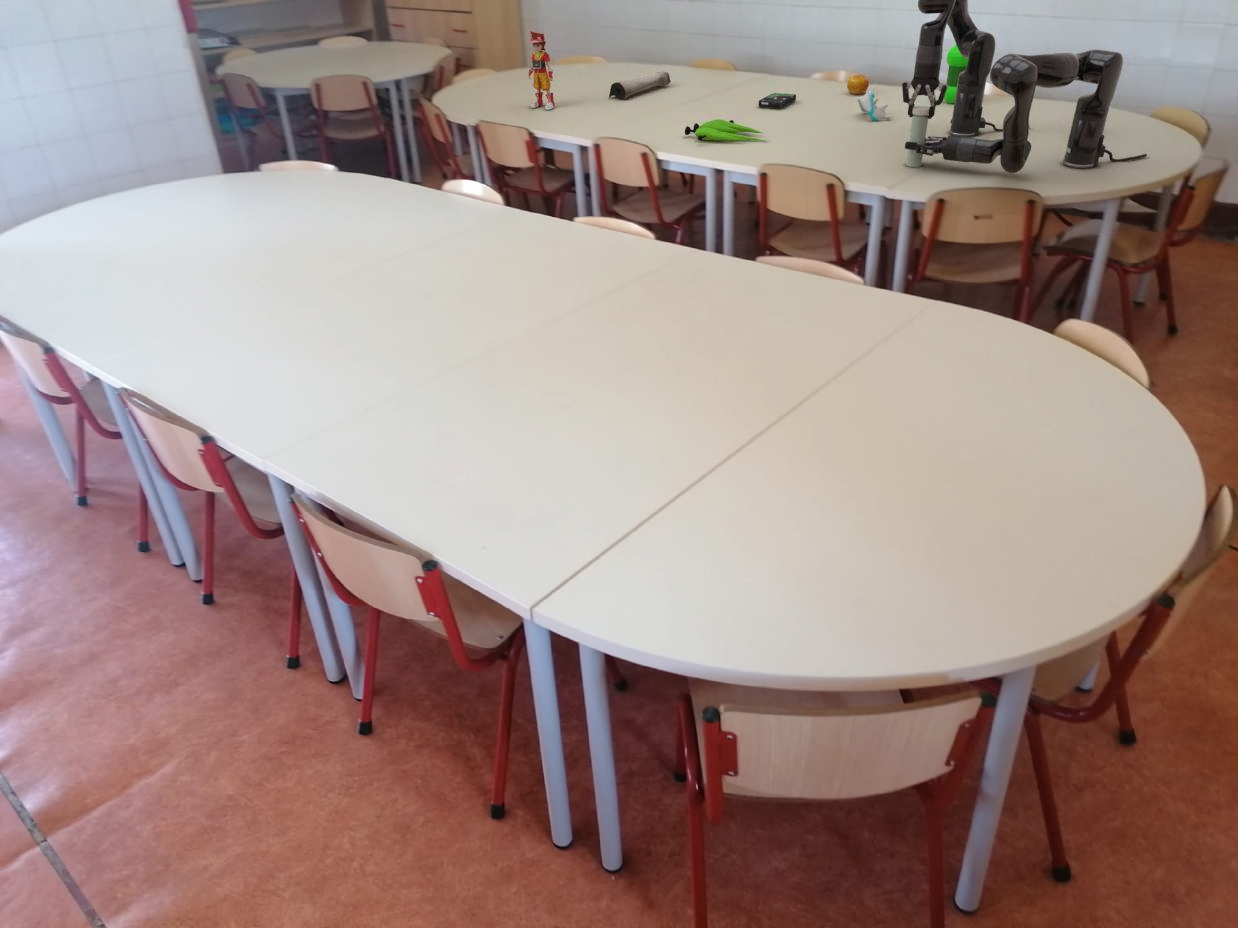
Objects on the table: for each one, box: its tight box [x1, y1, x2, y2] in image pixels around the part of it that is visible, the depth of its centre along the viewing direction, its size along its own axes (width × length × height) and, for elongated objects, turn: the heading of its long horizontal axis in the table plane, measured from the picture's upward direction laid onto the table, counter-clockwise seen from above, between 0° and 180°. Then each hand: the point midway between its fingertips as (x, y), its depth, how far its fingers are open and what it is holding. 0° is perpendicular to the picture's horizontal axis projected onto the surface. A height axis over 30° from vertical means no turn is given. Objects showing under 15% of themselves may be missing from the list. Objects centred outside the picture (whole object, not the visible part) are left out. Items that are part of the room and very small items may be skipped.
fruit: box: [846, 74, 870, 95], centre depth 372 cm, size 8×8×8 cm
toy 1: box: [527, 31, 556, 111], centre depth 374 cm, size 12×9×30 cm
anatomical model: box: [857, 89, 892, 122], centre depth 341 cm, size 15×10×10 cm
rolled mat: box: [608, 71, 672, 101], centre depth 395 cm, size 30×9×10 cm
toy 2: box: [684, 119, 767, 142], centre depth 329 cm, size 28×5×30 cm
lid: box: [912, 105, 930, 115], centre depth 283 cm, size 6×6×2 cm
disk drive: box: [758, 92, 797, 110], centre depth 365 cm, size 10×3×15 cm
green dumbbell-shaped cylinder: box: [943, 44, 968, 104], centre depth 348 cm, size 10×10×25 cm
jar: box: [905, 114, 929, 168], centre depth 287 cm, size 5×5×17 cm
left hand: (920, 117), depth 284 cm, fingers closed on lid, 5 cm apart
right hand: (908, 143), depth 290 cm, fingers closed on jar, 4 cm apart
